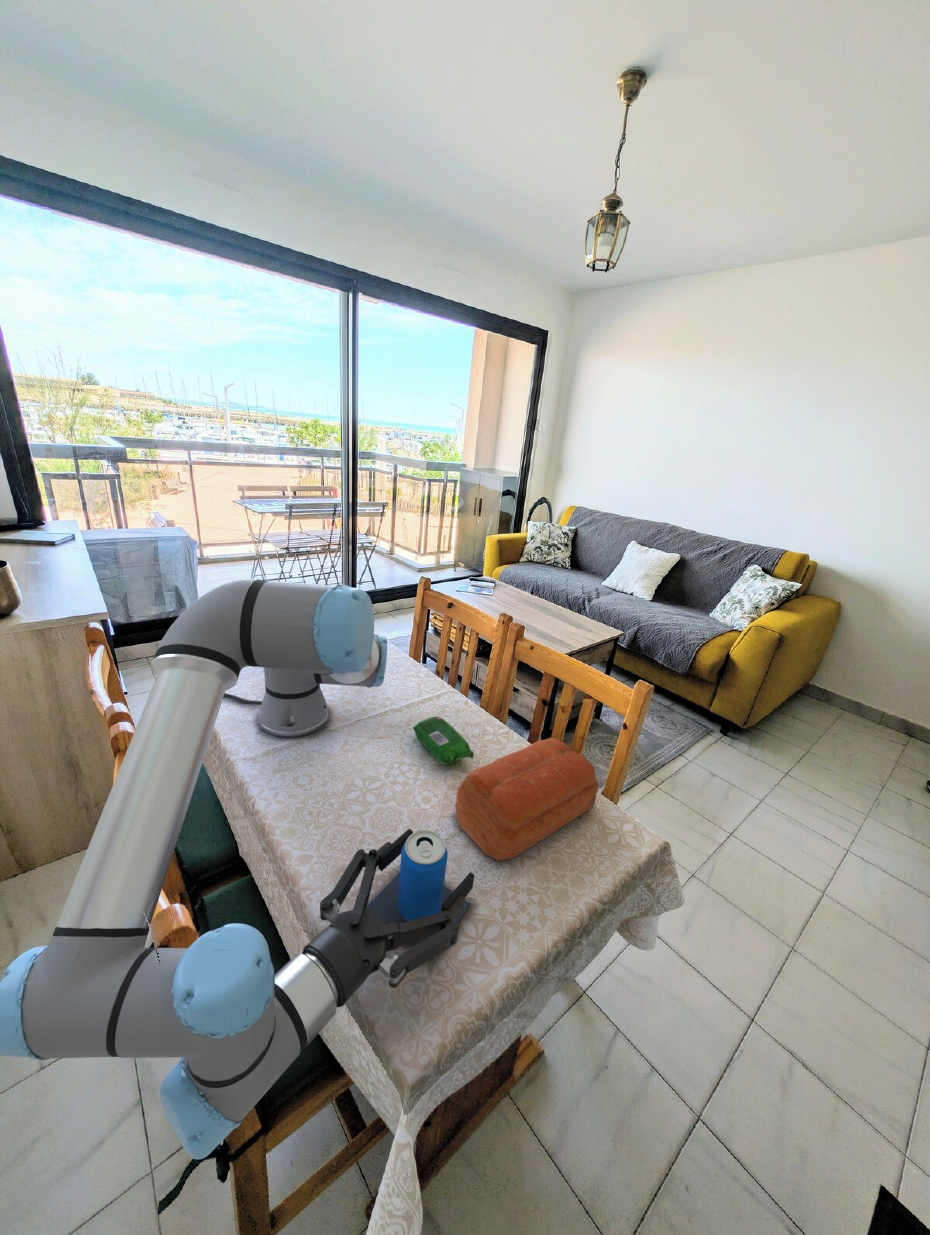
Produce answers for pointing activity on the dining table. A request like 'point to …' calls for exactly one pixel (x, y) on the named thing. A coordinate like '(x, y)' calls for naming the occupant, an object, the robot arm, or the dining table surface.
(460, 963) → the dining table surface
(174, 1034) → the robot arm
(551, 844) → the dining table surface
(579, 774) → the bread
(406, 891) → the beverage can
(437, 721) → the snack package
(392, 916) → the slate mat
